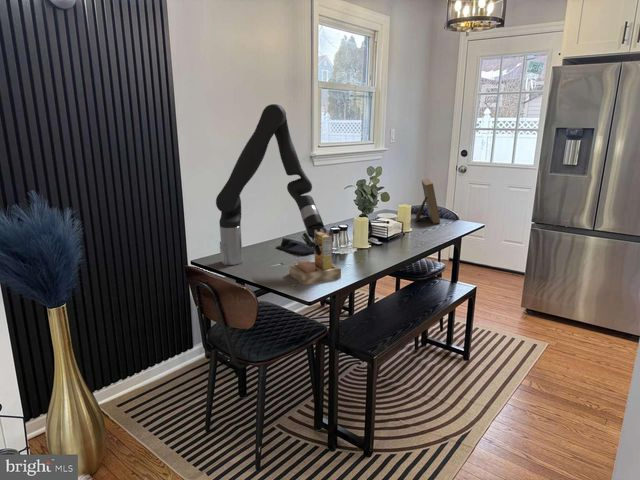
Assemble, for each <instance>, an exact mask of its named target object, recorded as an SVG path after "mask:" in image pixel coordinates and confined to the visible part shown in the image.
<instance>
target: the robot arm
mask: <svg viewBox="0 0 640 480" xmlns="http://www.w3.org/2000/svg"><path fill="white" fill-rule="evenodd" d="M273 136H275V139H276V143H277V148H278V152H279V156H280V160H281V163H282V165H283V168H284V172H285V174H286V175H287V176H299V177H300V178H296V179H295V180H291V181H289V182H288V183H287V186H286V189H287V192H288V193H289V195H290V197H292V199H293V200H294V202H295V203H296V205H297V207H298V209H299V213H300V217H301V219H302V222H303V226H304V228H305V230H306V232H303V234H302V235H301V238H302V240H303V241H304V243H305V244H307V245H308V246H309V247H313V248H314V250H315V252H316V254H318V256H319V255H320V254H321V251H320V248H319V246H318V245H317V237H316V234H315V233H317V232H324V233H326V234H328V235H330V236H332V243H333V242H334V229H332V228H330V229H327V228H326V227H325V226H324V222H323V219H322V217H321V214H320V211H319V209H318V208H317V206H316V203H315V201H314V198H313V197H312V196H311V195H309V193H310V192H311V191H312V189H313V185H312V182H311V181H310V179H309V177H308V176H307V175H306V173H305V172H304V169H303V168H302V165H301V161H300V160H299V156H298V153H297V152H296V149H295V146H294V143H293V140H292V137H291V133H290V130H289V124H288V120H287V112H286V110H285V108H284V107H283V106H282V105H279V104H276V103H274V104H273V103H272V104H268V105H266V106H265V108H264V109H263V110H262V113H261V114H260V118H259V120H258V123H257V125H256V128H255V129H254V132H253V133H252V135H251V136H250V138H249V139H248V141H247V142H246V144H245V146H244V147H243V149H242V151H241V152H240V155H239V156H238V159H237V160H236V163H235V165H234V167H233V169H232V170H231V174H230V175H229V177H228V180H227V182H226V183H225V184H224V186H223V187H222V189H221V190H220V192H219V193H218V195H216V199H215V205H216V207H217V209H218V210H219V211H220V212H221V213H220V214H221V215H220V219H219V235H220V241H219V250H220V251H219V253H220V262H221V263H222V265H224V266H234V265H240V264H241V263H243V257H244V256H243V245H242V228H241V226H242V225H241V221H242V199H241V194H242V192H243V190H244V188H245V186H246V185H247V184H248V183H249V181H250V180H251V179H253V177H254V175H255V174H256V172H257V171H258V169H259V167H260V166H261V164H262V163H263V160H264V158H265V156H266V152H267V150H268V146H269V144H270V141H271V139H272V138H273ZM332 251H333V248H332Z"/></svg>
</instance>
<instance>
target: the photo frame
mask: <svg viewBox="0 0 640 480" xmlns="http://www.w3.org/2000/svg"><path fill="white" fill-rule="evenodd" d="M421 185H422V189H423V194H424V200H423V201H422V203H421V204H420V207H419V209H418V211H417V212H416V215H415V220H414V222H415V221H416V222H419V221H420V218H421V215H422V213H423V211H424V208H425V204H426V210H427V214H428V218H429V219H430V221H431V222H433V223H432V224H433V225H434V224H439V223H441V219H440V213H439V207H438V202H437V198H436V197H437V196H436V194H435V187H434V183H433V182H432V181H431V179H429V178H425V179H421ZM418 220H419V221H418Z"/></svg>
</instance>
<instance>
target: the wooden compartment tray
mask: <svg viewBox="0 0 640 480" xmlns="http://www.w3.org/2000/svg"><path fill="white" fill-rule="evenodd" d="M309 262H311V263H312V264H314V265H315V260H311V261H309ZM288 266H289V267H288V270H289V275H290V276H291V277H292V278H294V279H295V280H296V281H298V282H299V283H301V284H302V285H303V286H306V285H311V284H316V283H321V282H328V281H333V280H337V279H341V278H342V268H341V267H339V266H338V265H336V264H334V263H332V269H327V270H321V269H320V268H318V267H317V266H315V272H310V273H304V272H303V271H301V270H300V269H299V268H298V263H293V264H289V265H288Z"/></svg>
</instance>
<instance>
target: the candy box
mask: <svg viewBox="0 0 640 480" xmlns="http://www.w3.org/2000/svg"><path fill="white" fill-rule="evenodd" d="M315 234H316V237H317V245H318V246H319V248H320V251H321V254H320V255H319V256H318V254H316V252H315V253H314V261H315V266H317V267H318V268H320V269H321V270H327V269H332V264H333V250H332V249H333V242H332V236H330V235H328V234H327V233H324V232H317V233H315ZM314 251H315V250H314Z"/></svg>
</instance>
